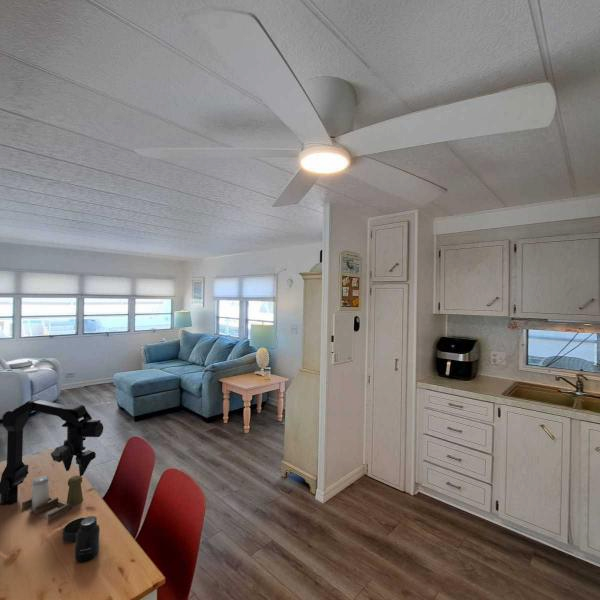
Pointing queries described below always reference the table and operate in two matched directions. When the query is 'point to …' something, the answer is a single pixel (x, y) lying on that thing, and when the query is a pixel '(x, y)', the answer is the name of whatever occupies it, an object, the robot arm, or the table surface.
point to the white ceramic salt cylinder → (40, 491)
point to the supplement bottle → (87, 540)
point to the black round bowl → (71, 530)
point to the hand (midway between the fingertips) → (74, 473)
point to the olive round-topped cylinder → (74, 490)
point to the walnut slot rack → (48, 508)
